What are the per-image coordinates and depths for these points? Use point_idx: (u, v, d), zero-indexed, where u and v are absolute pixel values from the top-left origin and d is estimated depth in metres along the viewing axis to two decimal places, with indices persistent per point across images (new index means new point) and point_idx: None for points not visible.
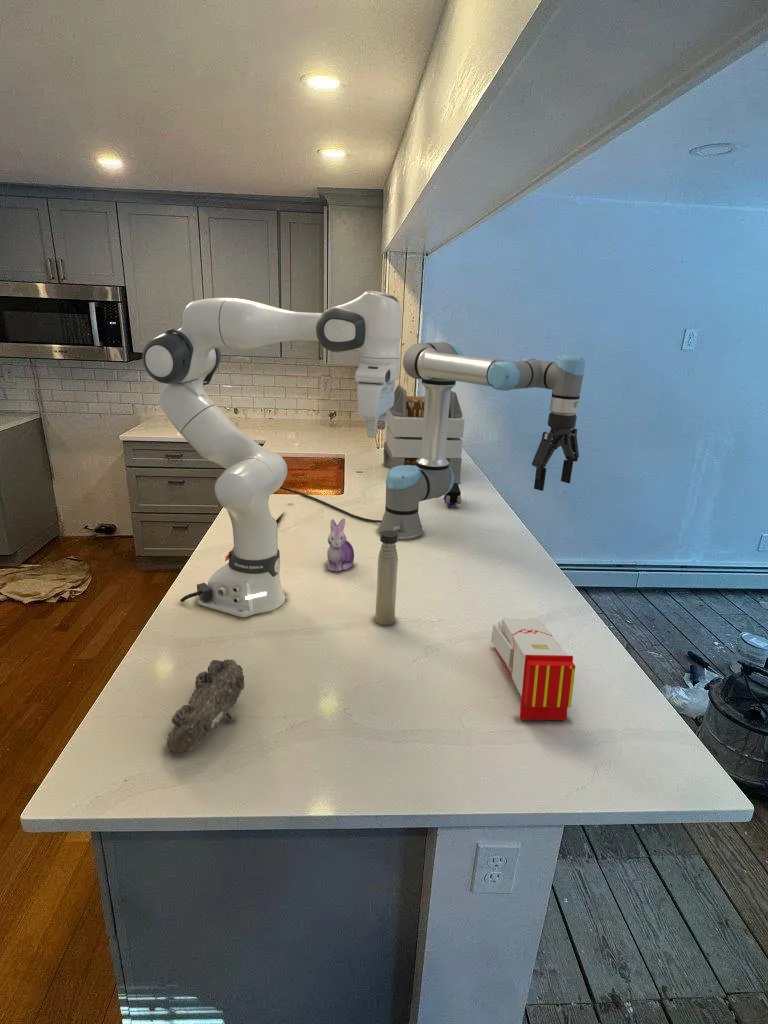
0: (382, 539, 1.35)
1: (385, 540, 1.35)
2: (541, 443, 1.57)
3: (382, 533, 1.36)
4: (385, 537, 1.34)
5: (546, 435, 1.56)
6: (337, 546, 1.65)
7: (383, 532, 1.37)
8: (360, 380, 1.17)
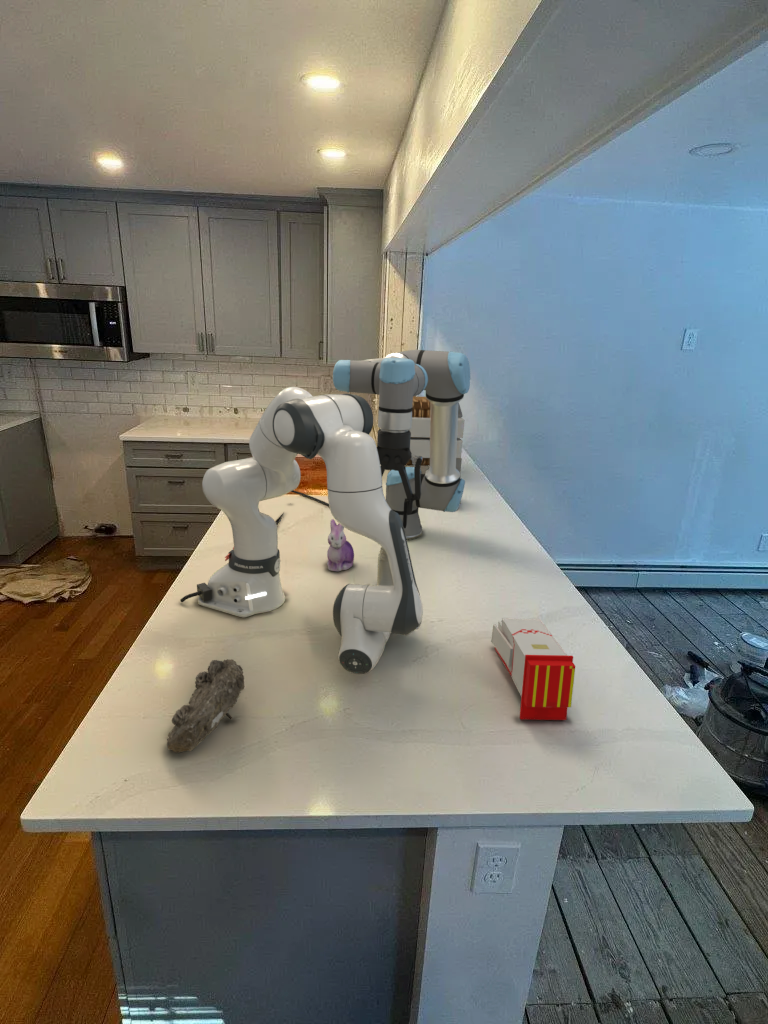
0: None
1: None
2: (419, 472, 1.29)
3: None
4: None
5: None
6: (337, 546, 1.65)
7: None
8: None
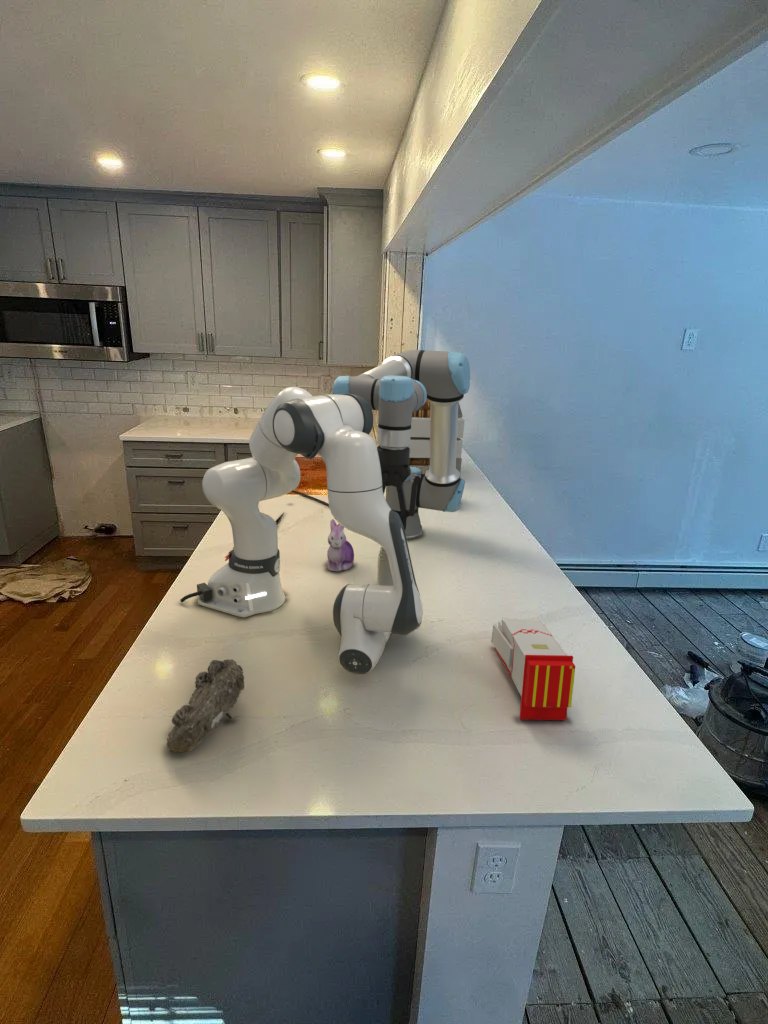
0: None
1: None
2: (416, 489, 1.31)
3: None
4: None
5: None
6: (337, 546, 1.65)
7: None
8: None
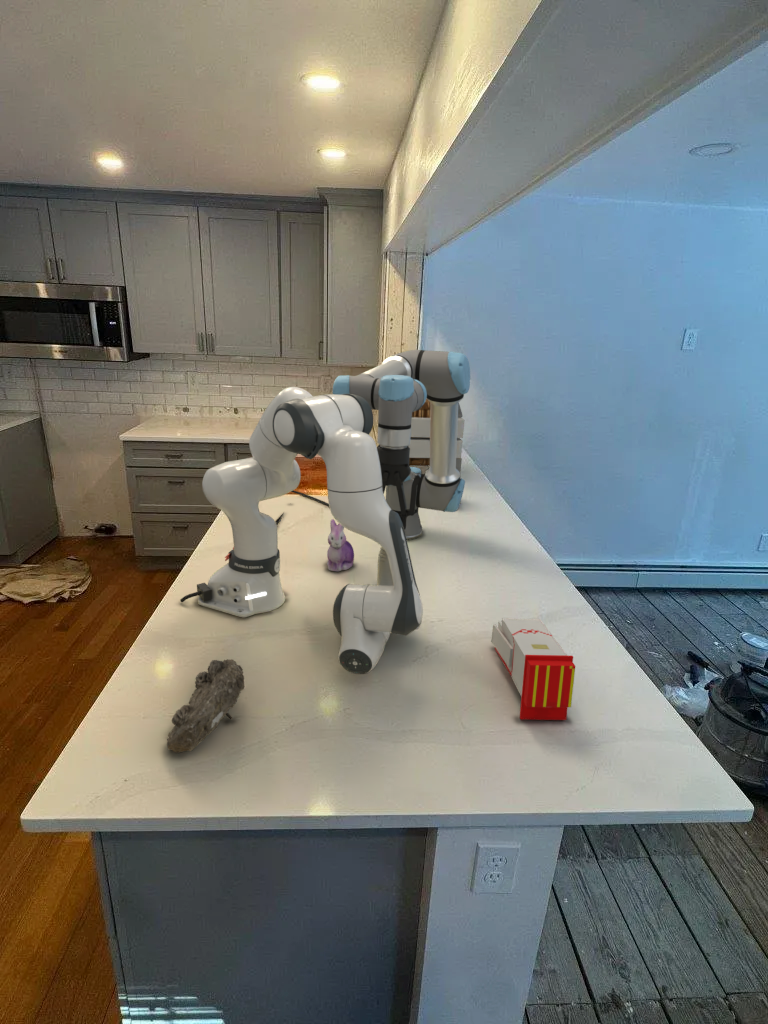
0: None
1: None
2: (416, 489, 1.31)
3: None
4: None
5: (419, 478, 1.31)
6: (337, 546, 1.65)
7: None
8: None
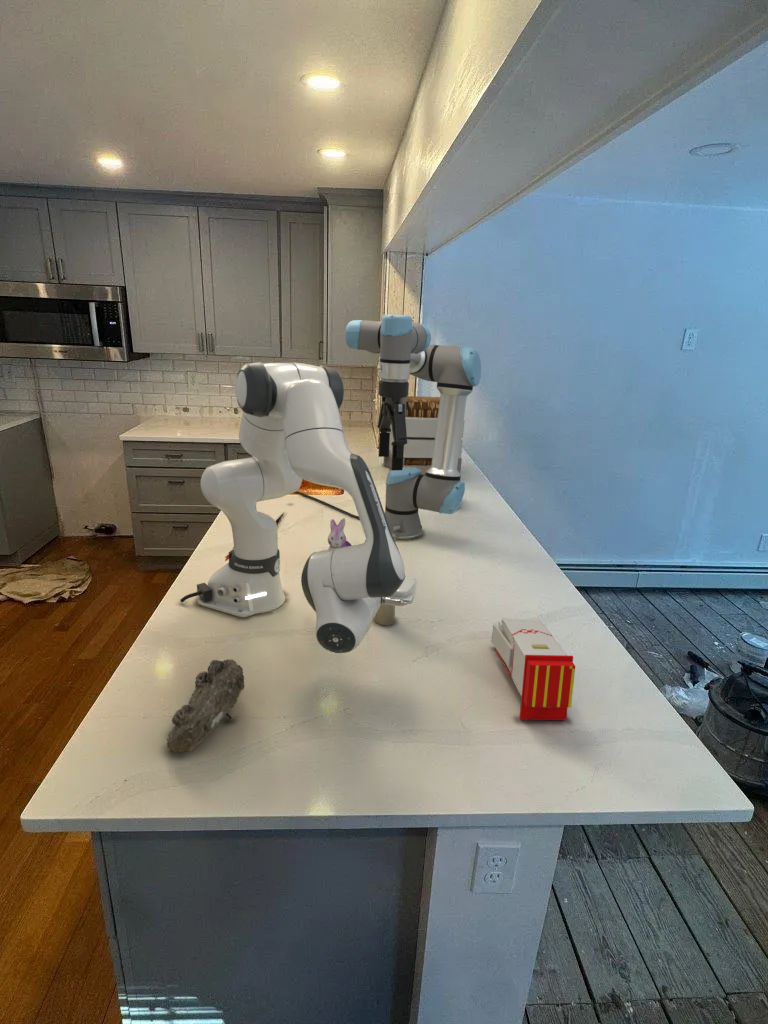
0: None
1: None
2: None
3: None
4: None
5: None
6: (337, 546, 1.65)
7: None
8: None
